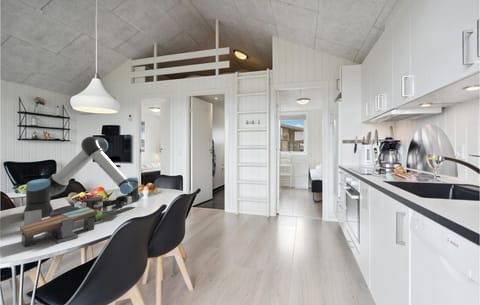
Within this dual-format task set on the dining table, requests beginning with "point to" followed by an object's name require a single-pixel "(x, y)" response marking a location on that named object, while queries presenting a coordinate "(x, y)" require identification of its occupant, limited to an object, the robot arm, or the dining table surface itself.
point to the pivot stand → (61, 231)
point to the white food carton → (32, 216)
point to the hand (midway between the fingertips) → (97, 208)
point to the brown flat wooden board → (55, 221)
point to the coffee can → (95, 207)
